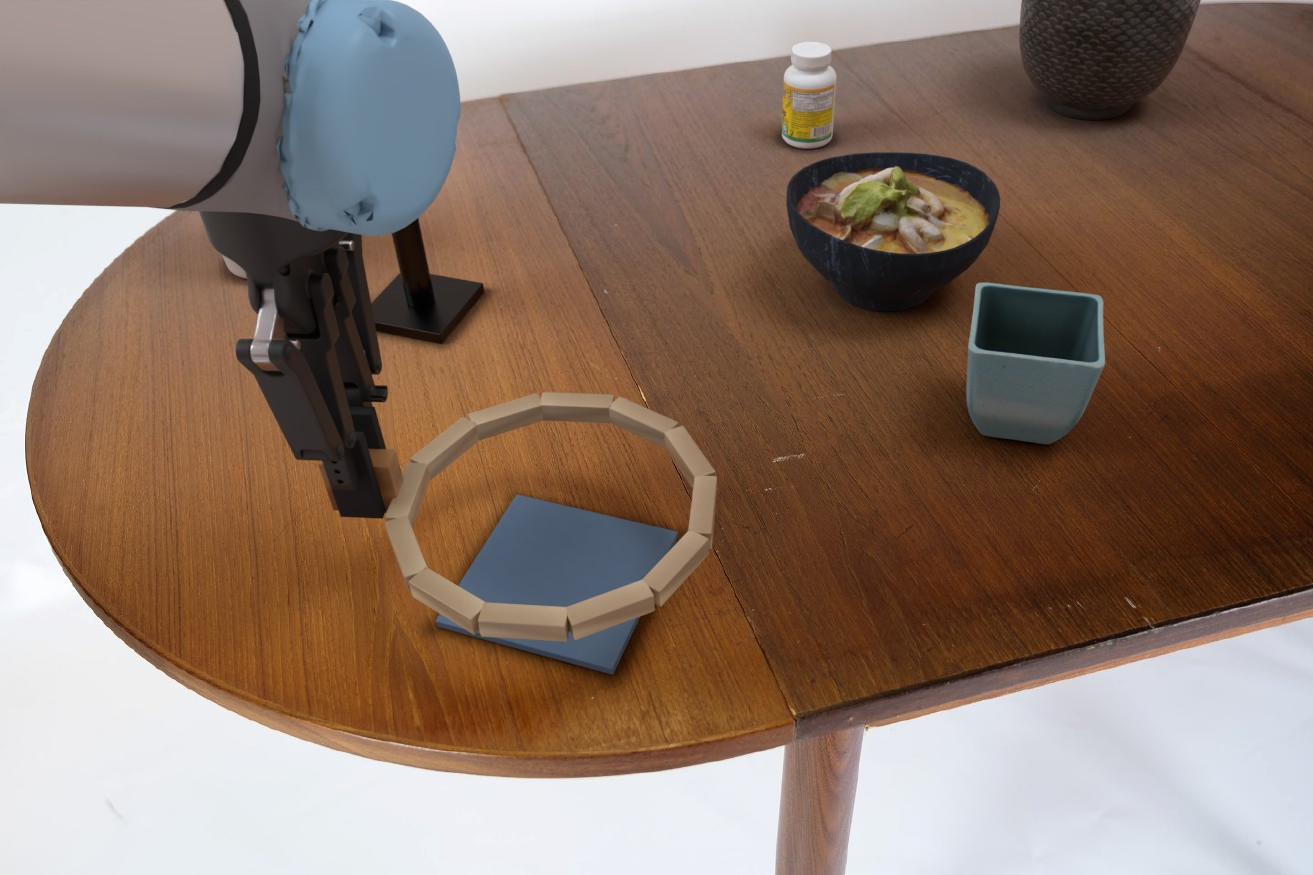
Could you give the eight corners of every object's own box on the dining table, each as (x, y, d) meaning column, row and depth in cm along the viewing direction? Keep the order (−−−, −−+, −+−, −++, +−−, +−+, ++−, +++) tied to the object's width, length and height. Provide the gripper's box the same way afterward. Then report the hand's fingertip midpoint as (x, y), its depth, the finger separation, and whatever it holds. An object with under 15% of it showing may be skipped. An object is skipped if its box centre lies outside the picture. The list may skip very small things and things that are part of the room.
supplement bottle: (825, 153, 117) (831, 62, 110) (775, 146, 118) (778, 57, 112) (837, 130, 120) (844, 41, 114) (788, 124, 122) (792, 36, 116)
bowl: (1018, 324, 93) (1040, 218, 86) (817, 357, 91) (825, 250, 84) (937, 221, 106) (951, 121, 99) (759, 248, 103) (762, 147, 97)
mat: (613, 675, 68) (612, 669, 68) (436, 626, 71) (435, 620, 71) (678, 537, 76) (677, 531, 76) (517, 499, 80) (516, 493, 79)
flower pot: (959, 376, 88) (976, 279, 82) (1077, 392, 86) (1103, 293, 80) (950, 449, 82) (967, 349, 76) (1077, 468, 80) (1105, 367, 74)
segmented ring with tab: (281, 625, 64) (262, 578, 61) (382, 401, 79) (369, 355, 76) (702, 650, 62) (700, 603, 59) (724, 414, 76) (724, 367, 74)
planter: (1162, 74, 127) (1201, -75, 117) (1178, 144, 115) (1224, -16, 104) (1004, 66, 131) (1028, -80, 120) (1003, 133, 118) (1030, -23, 108)
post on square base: (442, 344, 94) (411, 194, 85) (358, 328, 96) (320, 180, 87) (484, 292, 100) (460, 146, 91) (405, 278, 102) (373, 134, 93)
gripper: (287, 241, 50) (394, 592, 65) (381, 94, 60) (454, 425, 76) (126, 238, 50) (270, 586, 66) (247, 94, 61) (346, 422, 77)
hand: (368, 500), depth 71 cm, fingers closed on segmented ring with tab, 2 cm apart
